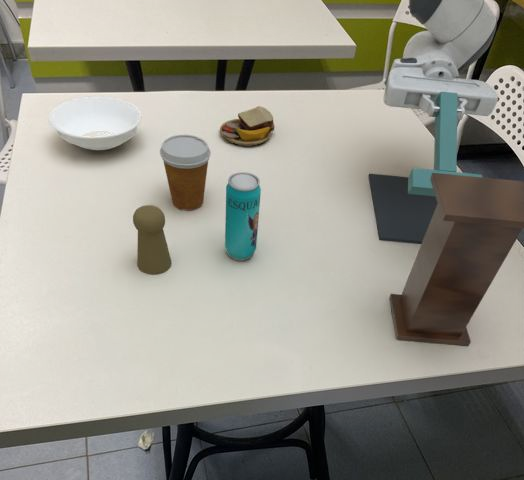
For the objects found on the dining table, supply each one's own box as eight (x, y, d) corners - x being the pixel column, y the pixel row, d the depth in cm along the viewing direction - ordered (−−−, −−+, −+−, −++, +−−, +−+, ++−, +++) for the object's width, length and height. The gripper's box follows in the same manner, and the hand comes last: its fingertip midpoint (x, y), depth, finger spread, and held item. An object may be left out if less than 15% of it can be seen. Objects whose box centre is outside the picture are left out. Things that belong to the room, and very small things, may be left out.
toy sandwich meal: (213, 125, 123) (213, 106, 119) (264, 121, 127) (265, 102, 123) (228, 150, 116) (229, 130, 112) (281, 144, 119) (284, 125, 116)
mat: (437, 182, 113) (437, 179, 113) (458, 247, 98) (460, 244, 97) (368, 175, 113) (368, 173, 112) (379, 239, 97) (380, 237, 97)
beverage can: (249, 266, 89) (254, 193, 78) (219, 257, 90) (220, 184, 79) (260, 248, 93) (266, 176, 81) (231, 240, 94) (234, 167, 82)
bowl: (58, 170, 105) (51, 141, 100) (52, 126, 117) (45, 98, 112) (152, 160, 110) (149, 133, 105) (136, 120, 122) (133, 93, 117)
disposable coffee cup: (218, 209, 100) (218, 153, 91) (173, 219, 97) (169, 162, 88) (200, 185, 105) (199, 130, 96) (157, 193, 102) (152, 137, 93)
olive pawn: (129, 264, 87) (120, 211, 79) (153, 248, 91) (147, 195, 82) (155, 279, 85) (148, 226, 77) (178, 261, 89) (174, 209, 80)
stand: (458, 303, 87) (523, 181, 69) (471, 346, 81) (547, 223, 62) (386, 297, 87) (432, 172, 68) (393, 339, 80) (445, 214, 62)
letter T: (476, 104, 89) (483, 95, 86) (475, 200, 85) (482, 193, 83) (410, 98, 88) (415, 88, 86) (407, 193, 85) (412, 186, 83)
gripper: (479, 103, 98) (497, 137, 89) (377, 92, 97) (385, 126, 88) (493, 69, 93) (513, 101, 84) (386, 57, 92) (395, 89, 83)
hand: (446, 114), depth 86 cm, fingers closed on letter T, 3 cm apart
